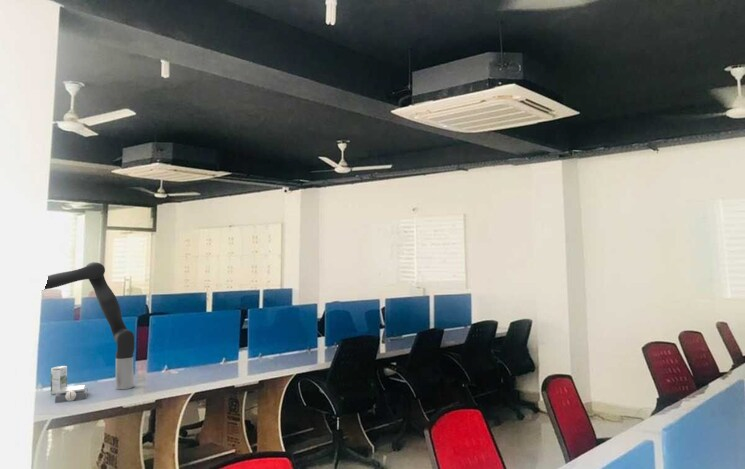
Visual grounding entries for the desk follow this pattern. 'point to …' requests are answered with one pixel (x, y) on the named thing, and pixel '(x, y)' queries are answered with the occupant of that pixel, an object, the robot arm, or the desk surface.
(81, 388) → the scale pan
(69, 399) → the scale base
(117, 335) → the robot arm
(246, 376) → the desk surface
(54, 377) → the syrup box
